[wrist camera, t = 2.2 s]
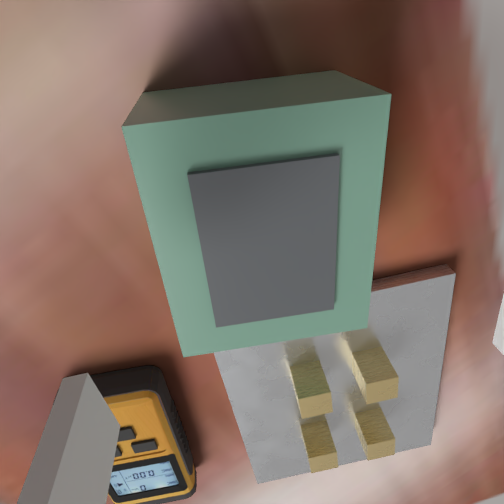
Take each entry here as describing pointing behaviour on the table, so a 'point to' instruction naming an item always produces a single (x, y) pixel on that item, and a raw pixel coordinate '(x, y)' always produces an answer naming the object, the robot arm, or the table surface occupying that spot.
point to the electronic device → (146, 439)
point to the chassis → (345, 383)
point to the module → (262, 204)
